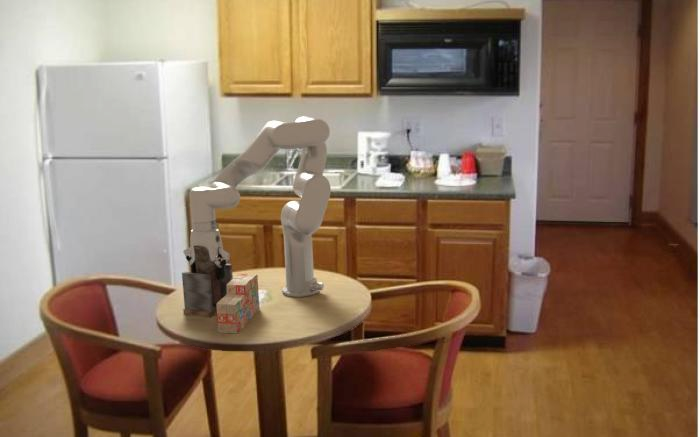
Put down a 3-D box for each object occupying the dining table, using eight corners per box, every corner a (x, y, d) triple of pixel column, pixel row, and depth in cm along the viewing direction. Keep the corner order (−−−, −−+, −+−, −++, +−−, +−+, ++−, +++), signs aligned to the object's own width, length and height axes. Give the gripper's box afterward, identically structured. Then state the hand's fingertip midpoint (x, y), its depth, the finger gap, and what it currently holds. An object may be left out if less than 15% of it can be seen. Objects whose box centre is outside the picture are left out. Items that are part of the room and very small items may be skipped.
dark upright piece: (199, 300, 254) (194, 241, 249) (222, 298, 254) (217, 240, 250) (198, 308, 246) (192, 248, 241) (221, 306, 247) (216, 247, 242)
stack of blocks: (237, 334, 228) (234, 294, 225) (217, 333, 229) (214, 294, 226) (259, 309, 248) (257, 273, 246) (241, 308, 250) (239, 272, 247)
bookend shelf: (235, 302, 255) (233, 263, 252) (209, 317, 242) (206, 276, 239) (210, 299, 259) (207, 260, 256) (183, 313, 246) (180, 273, 243)
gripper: (233, 225, 244) (237, 276, 248) (188, 221, 251) (193, 271, 255) (220, 230, 238) (224, 283, 241) (174, 226, 245) (179, 278, 249)
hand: (208, 277), depth 248 cm, fingers open, 9 cm apart
